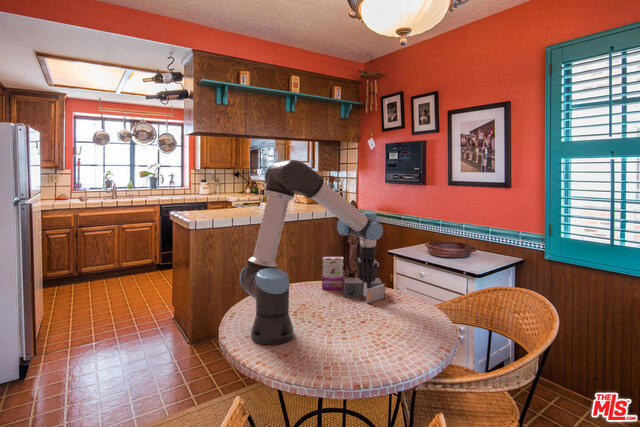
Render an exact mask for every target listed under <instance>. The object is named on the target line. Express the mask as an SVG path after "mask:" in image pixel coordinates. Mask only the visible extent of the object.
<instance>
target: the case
mask: <svg viewBox="0 0 640 427" xmlns="http://www.w3.org/2000/svg"><path fill="white" fill-rule="evenodd" d="M382 284H384V283H383V282H382V280H381V279H380V277H376V279H375V281H374V282H371V288H372V287H375V286H379V285H382ZM342 292H343V296H344V298H366V296H364V288H363V281H362V280H360V279H359V277H344V278H343V290H342Z"/></svg>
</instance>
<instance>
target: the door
mask: <svg viewBox="0 0 640 427" xmlns="http://www.w3.org/2000/svg"><path fill="white" fill-rule="evenodd" d="M385 298H386V283H383V284H382V285H379V286H375V287H372V288H369V289H366V297H365V304H369V303H373V302H375V301H379V300H382V299H385Z"/></svg>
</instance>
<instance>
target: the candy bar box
mask: <svg viewBox="0 0 640 427" xmlns="http://www.w3.org/2000/svg"><path fill="white" fill-rule="evenodd" d="M321 261H322V262H321V263H322V264H321V265H322V266H321V267H322V274H321V275H322V276H321V281H322V282H321V284H322V285H321V289H322V290H325V291H327V290H328V291H330V290H332V291H343V278H345V273H344V272H345V258H344V256H322V260H321Z"/></svg>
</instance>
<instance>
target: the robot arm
mask: <svg viewBox="0 0 640 427" xmlns="http://www.w3.org/2000/svg"><path fill="white" fill-rule="evenodd" d="M264 181H265V184H266V185H265V189H264V192H265V194H266V196H267V197H266V200H265V201H266V202H265V205H264V210H263V213H262V219H261V221H260V222H261V223H260V227H259V230H258V235H257V238H256V239H257V240H256V243H255V246H254V247H255V248H254V251H253V255H252V256H251V257H249V258H248V259H247V264H246V266H244V267H243V268H242V269H241V272H240V274H239V284H240V287H241V288H242V289H243V291H244V292H245V293H246V294H248V295H250V297H252V298H253V299H254V300H255V318H254V321H253V324H252V327H251V330H250V338H251V340H252V341H253V342H255V343H257V344H259V345H264V346H278V345H282V344H284V343H287V342H289V341H291V340H292V339H293V338H294V332H295V331H294V330H295V329H294V326H293V323H292V320H291V317H290V308H289V307H290V279H289V275H288V273H287V272H286V271H284V270H282V269H279V268H278V264H277V263H276V257H277V252H278V248H279V245H280V241H281V236H282V231H283V228H284V224H285V220H286V215H287V211H288V208H289V203H290V201H291V200H294V198H295V195H296V193H298V194H300V195H302V196H304V197H306V199H309V200H311V199H312V200H313V201H314V202H316V203H317V204H319V205H320V206H322V207H323V208H324V209H326V210H327V211H328V212H330V213H331V214H333V215H334V216H335V217H336V218H337V219H339V220H338V221H337V224H336V226H337V227H336V230H337V232H338V234H339V235H341V236H352V237H353V236H354V237H357V238H359V257H358V258H355V262H356V267H357V273H358V278H359V279H360V280H362V281H363V288H364V296H366V289H369V288H371V282H374V281H375V279H376V278H377V275H378V270H379V267H380V265H381V262H380V261H379V262H378V261H377V258H376V255H377V247H376V246H377V240H379V239H381V237H382V236H383V233H384V227H383V225H382V224H381V223H380V222H378V216H377V213H376V212H371V211H370V212H368V211H365V212H364V211H363V212H362V211H360V210H359V209H358V208H356V207H355V206H354V205H353V204H352V203H350V202H349V201H348V200H347V199H345V198H344V197H343V196H342V195H341V194H340V193H338V192H337V191H335V190H334V189H333V188H332V187H331V186H330V185H328V184H327V183H326V182H325V178H324V177H323V176H322V175H320V174H319V173H318V172H317V171H316V170H314V169H313V168H312V167H310V166H308V165H307V164H306V163H304V162H303V161H301V160H297V159H289V160H288V159H287V160H277V161H274V162H272V163H271V164H269V166H268V167H267V168H266V170H265V172H264Z"/></svg>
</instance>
